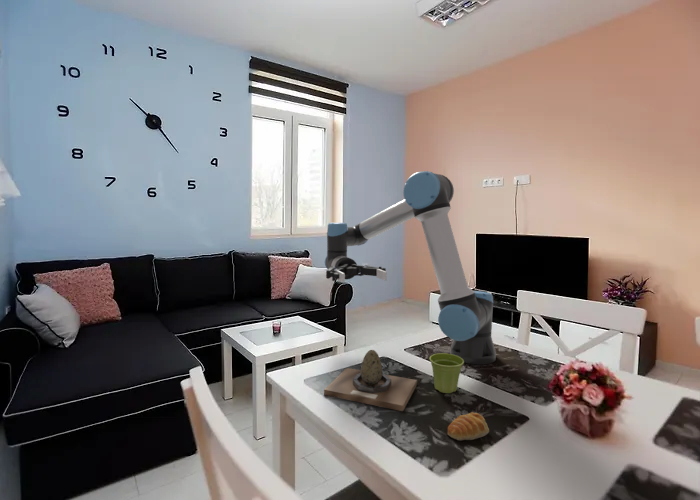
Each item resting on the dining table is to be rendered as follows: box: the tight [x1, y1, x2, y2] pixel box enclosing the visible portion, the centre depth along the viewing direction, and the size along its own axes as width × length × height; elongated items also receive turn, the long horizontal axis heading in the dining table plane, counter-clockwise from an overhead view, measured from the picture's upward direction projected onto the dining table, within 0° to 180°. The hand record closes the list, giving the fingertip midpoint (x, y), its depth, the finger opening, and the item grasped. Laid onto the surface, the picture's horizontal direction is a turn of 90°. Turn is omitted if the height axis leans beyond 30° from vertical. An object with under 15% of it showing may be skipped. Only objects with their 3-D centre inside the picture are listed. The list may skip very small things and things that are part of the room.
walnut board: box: [323, 367, 418, 412], centre depth 108 cm, size 22×16×2 cm
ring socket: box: [353, 373, 391, 394], centre depth 108 cm, size 10×10×2 cm
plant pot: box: [429, 352, 465, 394], centre depth 109 cm, size 9×9×9 cm
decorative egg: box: [360, 349, 383, 386], centre depth 108 cm, size 6×6×10 cm
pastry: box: [447, 411, 490, 441], centre depth 88 cm, size 9×7×4 cm
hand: (365, 277), depth 118 cm, fingers open, 13 cm apart
